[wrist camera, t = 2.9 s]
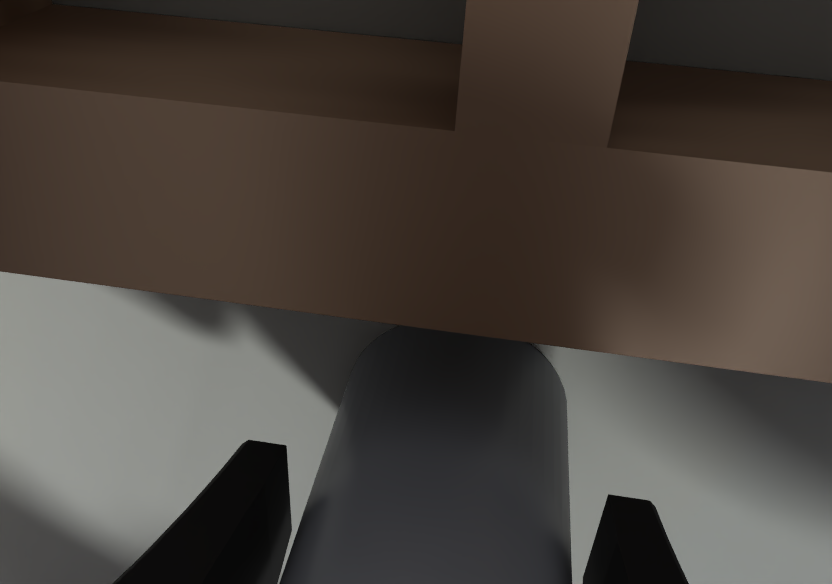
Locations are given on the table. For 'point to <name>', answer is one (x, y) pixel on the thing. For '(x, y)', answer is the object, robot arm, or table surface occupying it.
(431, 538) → the plug
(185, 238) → the socket board
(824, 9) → the table surface
